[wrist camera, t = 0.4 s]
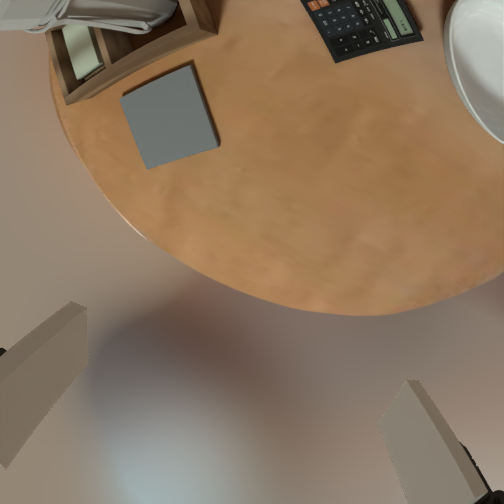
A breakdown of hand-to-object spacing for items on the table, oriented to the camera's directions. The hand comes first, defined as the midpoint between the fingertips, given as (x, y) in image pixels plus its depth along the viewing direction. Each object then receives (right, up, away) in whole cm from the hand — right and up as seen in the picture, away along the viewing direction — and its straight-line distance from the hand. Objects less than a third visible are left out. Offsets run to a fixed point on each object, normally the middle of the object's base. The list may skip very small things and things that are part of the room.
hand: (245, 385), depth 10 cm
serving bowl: (+32, +30, +10) cm, 44 cm away
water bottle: (-12, +37, +16) cm, 42 cm away
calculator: (+13, +32, +13) cm, 37 cm away
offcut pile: (-22, +36, +19) cm, 46 cm away
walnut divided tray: (-16, +36, +17) cm, 43 cm away
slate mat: (-11, +23, +25) cm, 36 cm away
